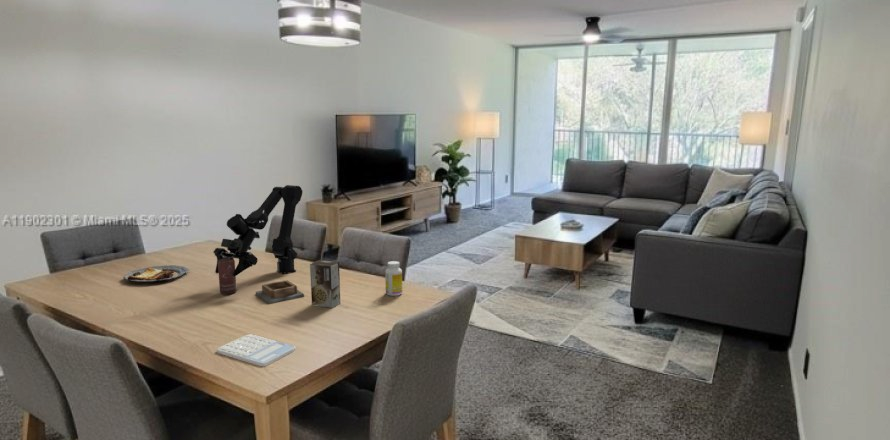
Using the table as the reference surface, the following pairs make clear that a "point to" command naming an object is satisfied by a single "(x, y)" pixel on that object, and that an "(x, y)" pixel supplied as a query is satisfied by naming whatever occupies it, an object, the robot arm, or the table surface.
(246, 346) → the calculator
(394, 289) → the supplement bottle
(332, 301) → the coffee box
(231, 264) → the can
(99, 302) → the table surface
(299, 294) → the collar
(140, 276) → the food plate
